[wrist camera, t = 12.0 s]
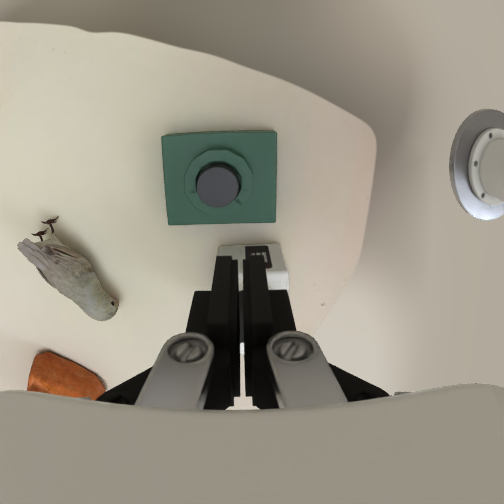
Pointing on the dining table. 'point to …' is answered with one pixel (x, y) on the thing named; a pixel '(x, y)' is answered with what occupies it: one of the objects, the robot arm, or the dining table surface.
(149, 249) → the dining table surface
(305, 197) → the dining table surface
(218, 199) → the dark grey push button
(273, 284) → the container
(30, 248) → the decorative bird
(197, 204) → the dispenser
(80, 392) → the bread
